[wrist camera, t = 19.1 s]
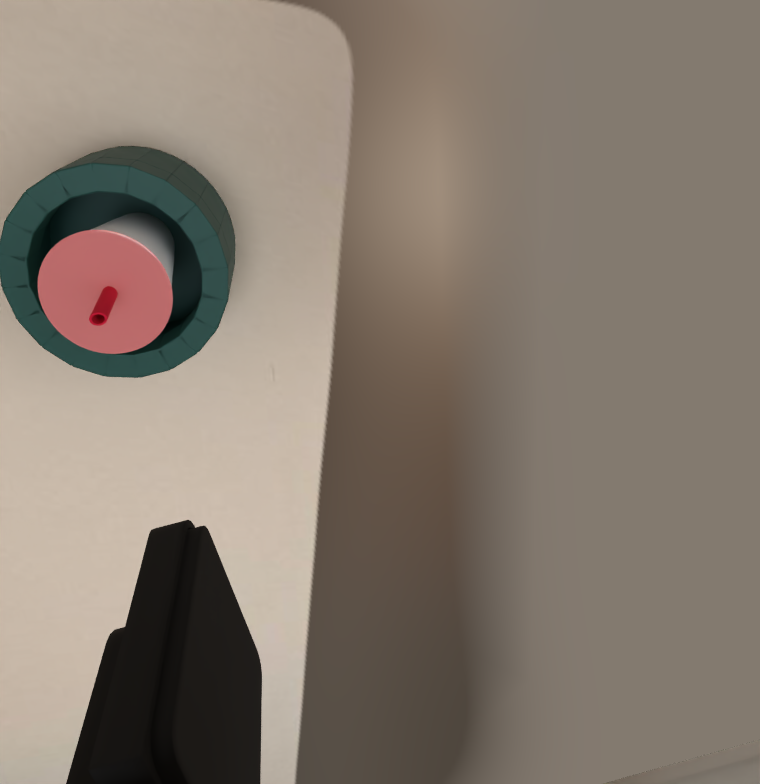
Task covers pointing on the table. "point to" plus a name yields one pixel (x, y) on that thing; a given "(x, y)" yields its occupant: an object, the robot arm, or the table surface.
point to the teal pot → (105, 203)
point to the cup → (110, 284)
